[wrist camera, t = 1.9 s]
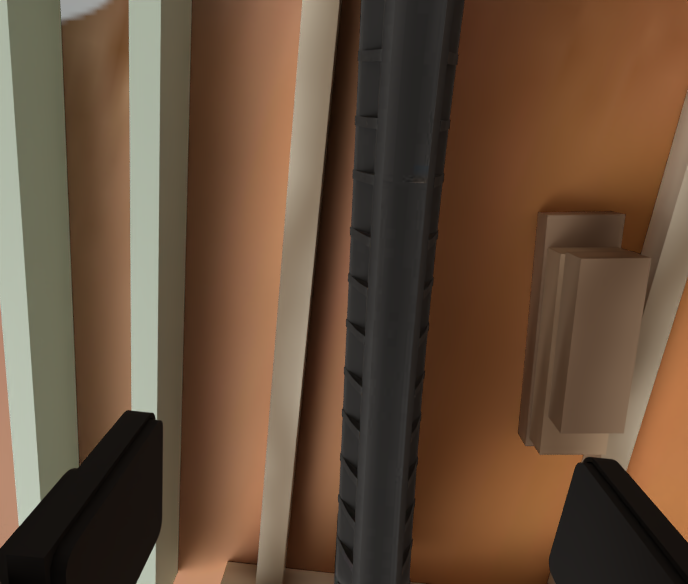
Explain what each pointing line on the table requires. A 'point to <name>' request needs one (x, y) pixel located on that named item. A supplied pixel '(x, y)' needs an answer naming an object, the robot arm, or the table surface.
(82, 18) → the table surface
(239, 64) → the table surface
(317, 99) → the rack
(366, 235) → the magazine
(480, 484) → the table surface
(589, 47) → the table surface
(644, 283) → the offcut stack
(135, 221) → the display holder
